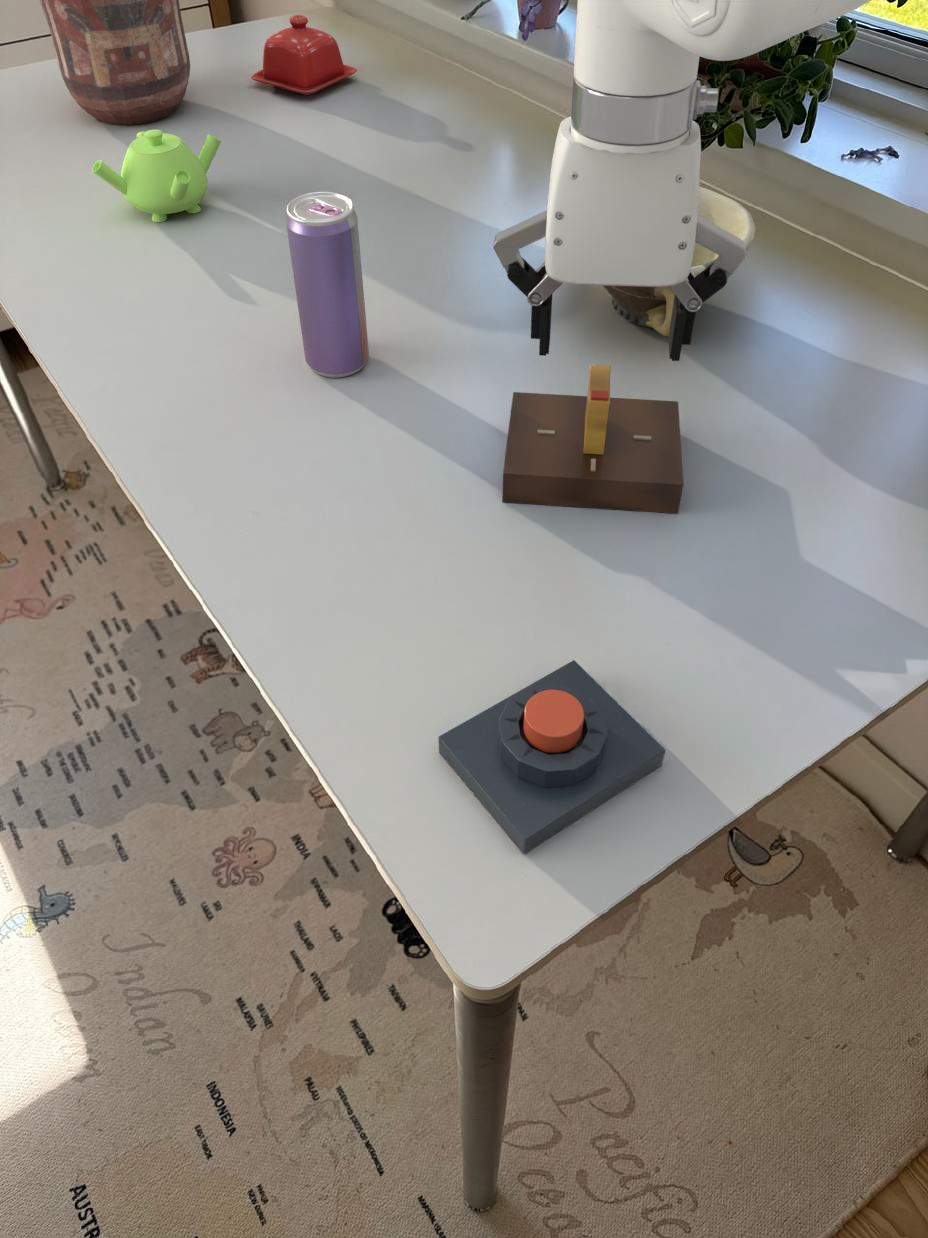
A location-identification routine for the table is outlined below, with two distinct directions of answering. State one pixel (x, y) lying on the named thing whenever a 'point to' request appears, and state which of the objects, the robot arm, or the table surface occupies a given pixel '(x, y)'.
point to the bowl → (657, 302)
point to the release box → (549, 759)
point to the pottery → (121, 56)
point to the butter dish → (302, 59)
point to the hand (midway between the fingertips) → (608, 348)
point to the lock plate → (593, 455)
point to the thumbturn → (597, 409)
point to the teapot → (161, 174)
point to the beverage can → (328, 282)
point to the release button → (553, 721)
